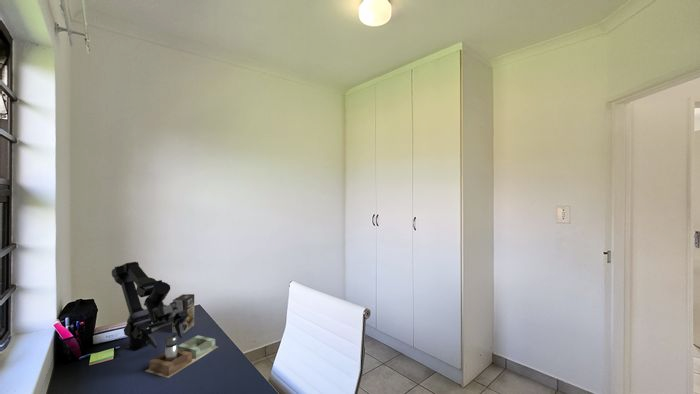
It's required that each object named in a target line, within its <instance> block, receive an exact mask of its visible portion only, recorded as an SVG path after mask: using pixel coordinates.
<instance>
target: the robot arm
mask: <svg viewBox="0 0 700 394" xmlns="http://www.w3.org/2000/svg"><path fill="white" fill-rule="evenodd" d="M111 276H112V278H113V279H114V282H115V283H117V284H119V285H120V286H121V290H122V292H123V297H124V299H125V303H126V306H127V307H126V308H127V310H128V314H129V315H128V318H127V320H126V325H125V327H124V328H123V332H124V333H123V334H124V335H125V336H126V337H128V345H126V346H125V349H127V350H131V351H133V352H134V351H137V350H140V349H142V348H145V347H146V346H148V345H151V346H152V347H153V348H154V349H157V347H158V345H157V342H156V339H155V336H154V334H153V331H152V329H153V328H156V327H159V326H162V325H165V324H168V323H171V322H173V323H174V324H175V326H174V327H175V329H176V331H177V333H176V334H177V337H179V339H182V338H183V333H182V326H183V322H184V321H185V320H186V318H187V317H188V315H189V314H188V312H187V311H186V310H184V311H180V312H177V313H176V315H175V316H174V317H171V316H172V312H174V310H176V309H178V305H177V303H176V301H175V302H173V301H172V302H170V303H169V305H168V304H164V300H165V299H166V297H167V296H168V294H169V292H170V290H171V285H170V284H169V283H168V282H165V281H163V280H162V279H158V280H156V279H155V278H153V277H149V276H148V275H147V274H146V272H145V271H144V270H143V269H142V268H141V267H140V264H139V262H138V261H131V262H130V261H129V262H126V263H123V264H121V265H117V266H115V267H114V268H113V269H112V270H111ZM145 297H146V298H145ZM140 298H145V299H144V303H143V306H144V307H145V306H146V309H144V308H143V307H142V304H141V300H140ZM171 324H172V323H171Z"/></svg>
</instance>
